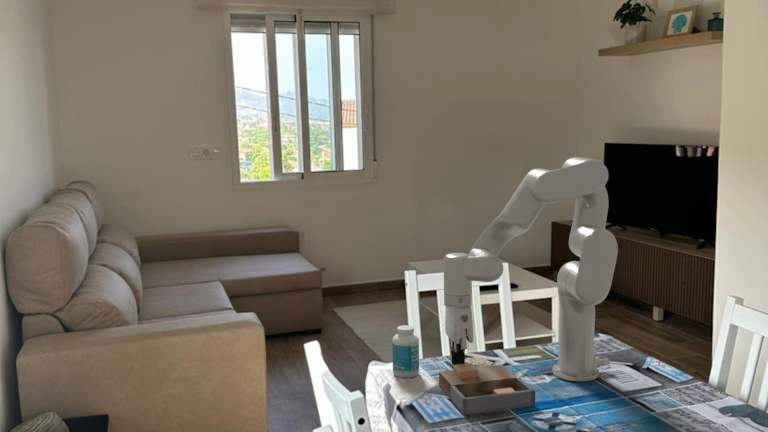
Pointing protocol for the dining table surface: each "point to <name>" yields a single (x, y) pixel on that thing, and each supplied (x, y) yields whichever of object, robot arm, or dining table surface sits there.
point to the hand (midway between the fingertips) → (458, 364)
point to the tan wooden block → (478, 381)
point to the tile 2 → (502, 390)
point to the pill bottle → (405, 352)
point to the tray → (494, 400)
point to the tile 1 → (465, 370)
